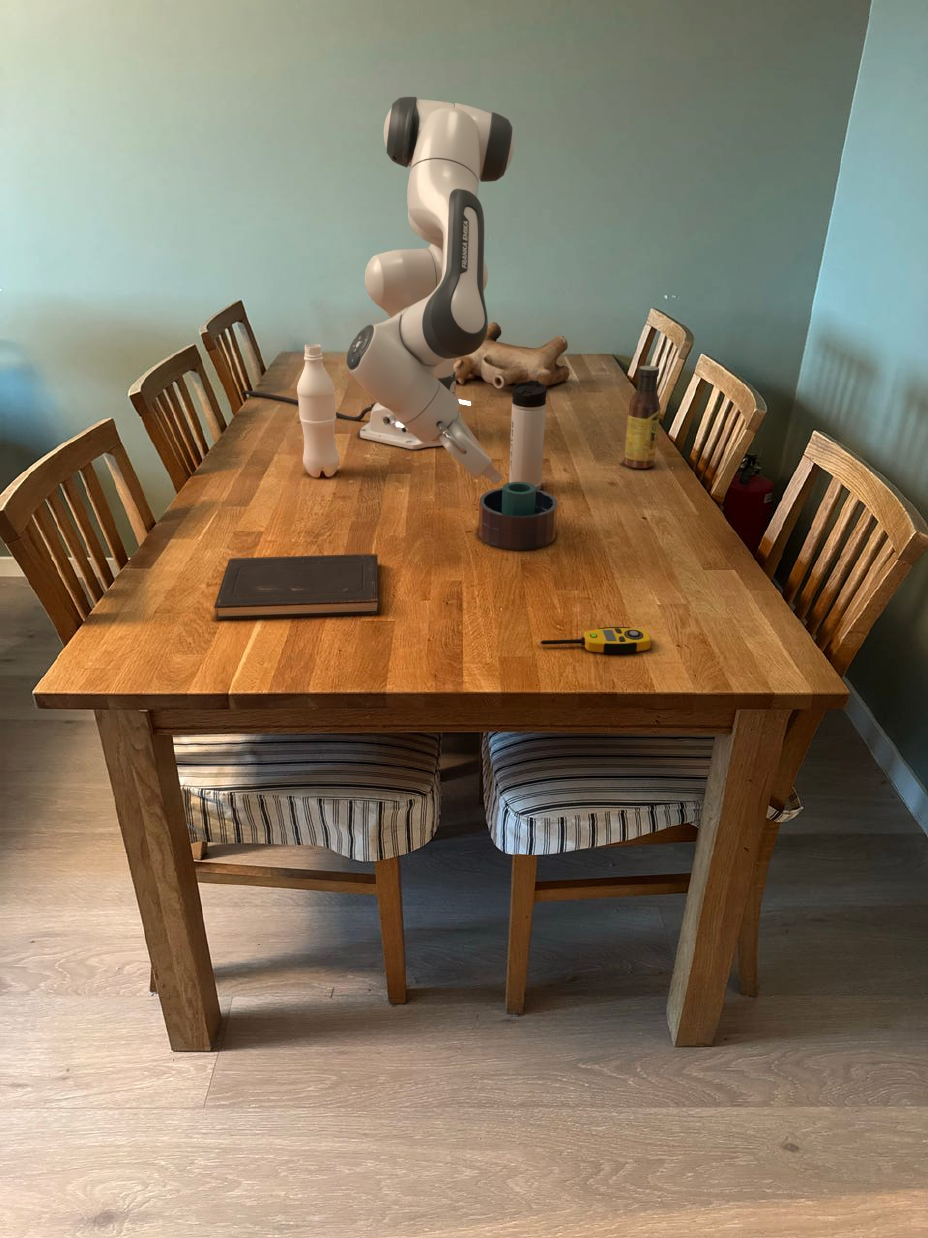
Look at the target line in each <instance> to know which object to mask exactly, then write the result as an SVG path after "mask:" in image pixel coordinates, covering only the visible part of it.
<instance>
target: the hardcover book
mask: <svg viewBox="0 0 928 1238" xmlns="http://www.w3.org/2000/svg"><path fill="white" fill-rule="evenodd" d="M378 565H379V564H378V554H377V553H355V554H354V553H353V554H352V553H351V554H323V555H322V554H321V555H320V554H319V555H318V554H317V555H294V556H293V555H291V556H258V557H257V556H253V557H229V559H228V562H227V565H226V568H225V571H224V574H223V578H222V579H221V580H222V581H221V584H220V588H219V590H218V593H217V597H216V599H215V603H214V606H213V608H214V609H216V610H217V613H216V617H215V620H216V621H225V620H226V621H227V620H230V621H231V620H255V619H279V618H280V619H281V618H282V619H283V618H285V619H286V618H310V617H334V616H335V617H337V616H360V615H361V616H363V615H364V616H365V615H379V570H378V569H379V568H378V567H379V566H378Z"/></svg>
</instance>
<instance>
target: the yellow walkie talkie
mask: <svg viewBox="0 0 928 1238" xmlns="http://www.w3.org/2000/svg"><path fill="white" fill-rule="evenodd" d="M540 644H541V645H570V644H571V645H573V644H575V645H577V644H581V646H584V648H585V650H586V651H587V652H593V653H601V654H602V653H603V654H606V655H628V654H629V655H630V654H636V653H637V652H642V651H647V650H649V649H650V647H651V644H652V639H651V635H650V633H649V632H648V631H647V630H646V629H641V628H633V627H631V628H630V627H629V626H605V627H598V628H597V629H596V628H595V629H591V630H586V631H584V633H583V637H581V638H580V639H579V638H577V639H576V638H575V639H574V638H573V639H544V640H541V641H540Z"/></svg>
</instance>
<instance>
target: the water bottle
mask: <svg viewBox="0 0 928 1238" xmlns="http://www.w3.org/2000/svg"><path fill="white" fill-rule="evenodd" d="M323 359H324V356H323V353H322V346H321V344H320V343H319V344H318V343H308V344H305V345H304V357H303V360H304V361H305V362H304V368H303V370H302V373H301V375H300V377H299V380H298V382H297V384H296V385H297V387H296V393H297V397H298V398H297V400H298V401H299V404H298V413H299V421H300V424H301V427H302V432H303V434H302V435H303V444H304V445H303V455H302V463H303V465H302V466H303V467H304V469H305V471H306V473H307V474H309V475H310V476H311V477H313V478H317V479H318V478H320V476H321V474H322V473H321V472H323V473H324V475H325V477H327V478H330V477H333V476H334V475H335V473H336V472H337V470H338V468H339V465H340V455H339V451H338V447H337V443H336V436H335V435H336V433H335V431H336V430H335V428H336V420H337V416H336V412H337V411H336V409H337V408H336V395H335V392H336V388H335V385H334V382H333V380H332V379H331V376H330V375H329V373H328V371H327V370H326V368H325V366H324V363H323Z"/></svg>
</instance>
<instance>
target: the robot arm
mask: <svg viewBox="0 0 928 1238" xmlns="http://www.w3.org/2000/svg"><path fill="white" fill-rule="evenodd" d="M391 105H392V106H391V107H390V109H389V111H388V112H387V115H386V117H385V120H384V124H383V141H384V145H385V149H386V154H387V156H388V157H389V159H390V160H391V161H392V162H393V163H394V164H397V165H399V166H401V167H404V168H405V169H406V168H408V167H410V170H409V175H408V177H409V178H408V182H407V192H406V201H407V219H408V224H409V226H410V228H411V230H412V231H413V232H414V233H415V235H417V236H418V237H419V238H421V239H422V240H423V241H425V242H427V243H429V244H430V245H429V246H428V247H424V248H408V249H407V248H405V249H392V250H389V251H385V252H381V253H378V254H375V255H373V256H372V257H371V258H370V260H369V261H368V263H367V265H366V267H365V272H364V285H365V289H366V292H367V294H368V296H369V297H370V299H371V300H372V302H374V303H375V304H376V305H377V306H378V307H380V308H381V309H382V310H384V312H385V313H386V314H387V315H388V316H389V318H387V319H385V320H384V321H382V322H379V323H375V324H369V325H366V326H365V327H364V328H362V329H361V330H360V331H359V332H358V333H357V335H356V336H355V338H354V339H353V340H352V342H351V344H350V345H349V348H348V351H347V354H346V367H347V369H348V371H349V373H350V374H351V376H352V377H353V379H354V380H355V382H357V383H358V385H360V387H361V388H362V389H363V390H364V391H365V392H366V393H367V394H368V395H369V396H370V397H371V398H372V399H373V400H374V401H376V402H373V403H371V404H370V406H367V407H365V408H364V409H362V411H361V413H360V414H359V415H358V416H349V415H346V414H343V413H340V412H337V411H336V418H340V419H342V420H343V419H344V420H348V421H354V422H355V421H356V422H357V421H361V420H362V419H363V418H364V417H365V415H366V414H367V413H368V412H370V415H369V422H367V423H366V424H365V425H363V426H362V427H361V428H360V430H359V437H360V438H361V439H364V440H368V441H373V442H378V443H382V444H386V445H392V446H395V447H400V448H405V449H409V450H419V449H424V448H428V447H429V448H431V447H441V446H443V447H444V449H445V450H446V451H447V452H448V453H449V455H451V457H452V458H454V460H455V461H457V462H458V463H459V464H460V466H462V467H463V468H464V469H465V470H466V471H467V472H468V473H469V474H470V475H472V476H473V477H474V478H476V479H479V478H481V477H482V476H483V477H485V478H487V479H488V480H489V481H491V482H492V483H493V484H495V485H496V484H499V482H500V481H501V480H502V479H503V475H502V473H501V472H500V471H499V470H498V469H497V468H496V467H495V466H493V461H492V459H491V458H490V456H489V455H488V454H487V452H486V451H485V449H484V448H483V446H482V445H481V443H480V442H479V441H478V439H477V438H476V436H475V435H474V434H473V432H472V431H471V429H470V427H469V426H468V425H467V423H466V421H464V419H463V418H462V413H461V412H460V411H459V410H460V406H461V405H464V406H465V405H466V406H471V405H472V403H471V401H469V400H464V399H459V398H458V397H457V381H456V375H455V372H454V358H458V357H462V356H466V355H469V354H472V353H474V352H475V351H477V350H478V349H479V348H480V346H481V345H482V344H483V342H484V340H485V337H486V334H487V328H488V325H489V321H488V319H489V317H488V310H487V306H486V301H485V289H486V288H487V284H488V279H489V274H488V273H489V272H488V266H487V263H486V261H485V215H484V209H483V206H482V203H481V202H480V200H479V198H478V191H479V182H481V183H482V182H483V183H484V182H487V183H489V182H497V181H498V180H501V178H503V177H504V176H505V173H506V171H507V170H508V168H509V167H510V164H511V162H512V160H513V157H514V152H515V137H514V133H513V126H512V124H511V122H510V120H509V119H508V118H507V117H505V116H503V115H501V114H499V113H497V112H494V111H492V112H491V113H490V112H487V111H485V110H482V109H480V108H476V107H473V106H471V105H467V104H463V103H459V102H455V103H453V102H447V101H441V100H434V99H432V100H431V99H418V98H417V96H401V97H399V98H398V99H396V100H395V101H394V102H392V104H391ZM241 392H242V395H243V394H244V395H249V396H256V397H262V398H267V399H273V400H278V401H283V402H287V403H292V404H295V405H299V401H298V399H294V398H290V397H286V396H282V395H277V394H271V393H266V392H259V391H253V390H245V389H242V391H241Z"/></svg>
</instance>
